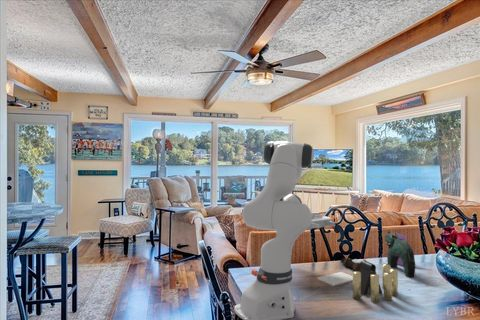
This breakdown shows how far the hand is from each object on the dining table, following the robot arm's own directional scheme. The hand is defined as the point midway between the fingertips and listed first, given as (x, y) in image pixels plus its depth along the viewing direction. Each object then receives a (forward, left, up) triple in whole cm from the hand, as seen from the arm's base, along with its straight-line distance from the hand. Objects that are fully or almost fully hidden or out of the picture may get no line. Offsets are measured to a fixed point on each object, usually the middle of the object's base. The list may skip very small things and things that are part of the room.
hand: (326, 225), depth 151 cm
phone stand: (0, -23, -24) cm, 33 cm away
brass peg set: (0, -28, -23) cm, 37 cm away
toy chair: (+48, -7, -24) cm, 54 cm away
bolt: (+18, 0, -24) cm, 30 cm away
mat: (0, -7, -23) cm, 24 cm away
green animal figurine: (+36, -15, -24) cm, 45 cm away
